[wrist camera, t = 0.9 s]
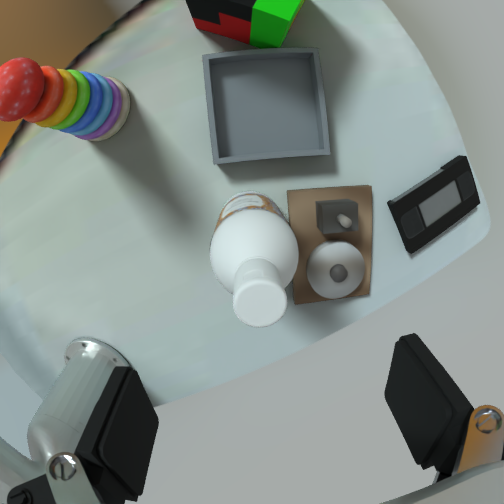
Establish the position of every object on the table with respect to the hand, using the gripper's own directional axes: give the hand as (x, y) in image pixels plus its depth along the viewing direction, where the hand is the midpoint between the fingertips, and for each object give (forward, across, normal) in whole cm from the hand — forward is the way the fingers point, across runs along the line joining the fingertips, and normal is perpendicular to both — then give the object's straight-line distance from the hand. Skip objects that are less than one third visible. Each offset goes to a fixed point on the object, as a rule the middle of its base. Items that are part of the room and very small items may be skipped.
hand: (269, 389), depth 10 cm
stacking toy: (+26, +16, -16) cm, 35 cm away
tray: (+26, -3, -13) cm, 29 cm away
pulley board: (+26, -9, +4) cm, 28 cm away
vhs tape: (+27, -25, 0) cm, 37 cm away
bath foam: (+26, 0, 0) cm, 27 cm away
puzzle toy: (+27, -3, -26) cm, 37 cm away
